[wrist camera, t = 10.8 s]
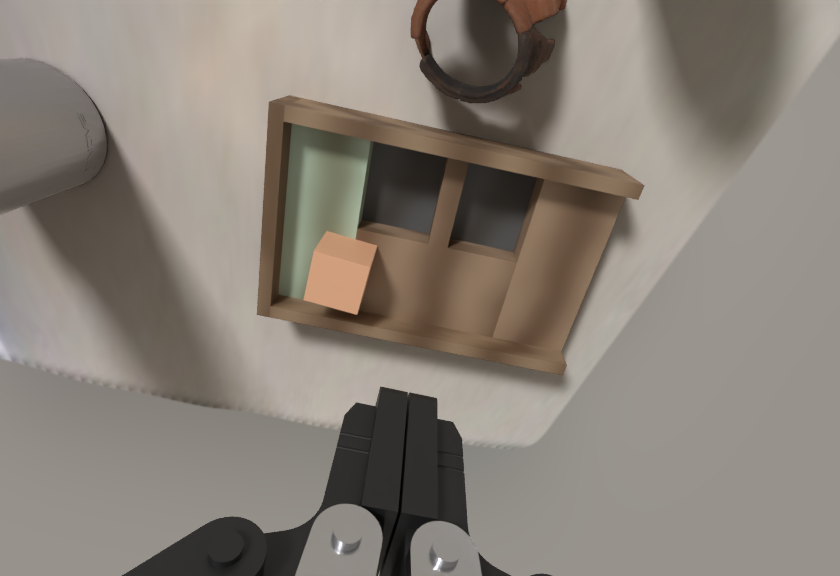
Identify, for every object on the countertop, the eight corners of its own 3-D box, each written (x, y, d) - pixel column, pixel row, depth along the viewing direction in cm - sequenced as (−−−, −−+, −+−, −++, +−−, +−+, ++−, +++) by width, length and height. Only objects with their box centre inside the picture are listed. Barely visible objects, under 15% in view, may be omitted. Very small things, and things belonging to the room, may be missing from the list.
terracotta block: (316, 276, 38) (303, 300, 34) (326, 230, 36) (313, 250, 32) (365, 289, 38) (357, 314, 34) (377, 245, 36) (370, 267, 33)
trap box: (275, 288, 41) (257, 314, 37) (289, 95, 34) (269, 101, 30) (551, 344, 43) (562, 375, 39) (621, 169, 35) (644, 185, 31)
